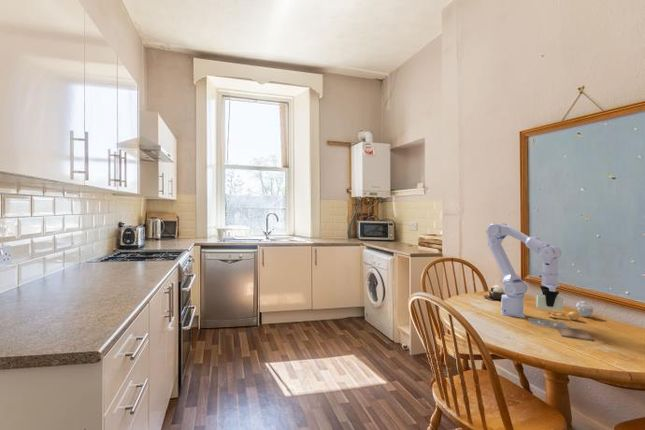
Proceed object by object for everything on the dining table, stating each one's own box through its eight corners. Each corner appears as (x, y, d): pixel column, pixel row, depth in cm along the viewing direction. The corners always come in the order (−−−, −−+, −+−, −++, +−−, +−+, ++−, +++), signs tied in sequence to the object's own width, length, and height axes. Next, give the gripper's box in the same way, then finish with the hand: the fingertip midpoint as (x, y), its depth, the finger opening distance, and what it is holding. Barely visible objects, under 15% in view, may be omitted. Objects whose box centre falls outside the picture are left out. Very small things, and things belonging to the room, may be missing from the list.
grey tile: (530, 324, 147) (530, 324, 147) (527, 318, 156) (527, 317, 156) (570, 330, 141) (570, 329, 141) (564, 323, 150) (564, 322, 150)
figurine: (583, 315, 150) (552, 306, 154) (579, 328, 150) (548, 318, 154) (576, 311, 158) (547, 302, 162) (573, 323, 158) (543, 314, 162)
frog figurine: (581, 313, 166) (581, 299, 165) (596, 318, 159) (597, 303, 159) (572, 314, 164) (572, 300, 164) (587, 319, 157) (587, 304, 157)
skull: (478, 294, 196) (490, 281, 197) (490, 306, 196) (502, 293, 197) (489, 298, 184) (502, 285, 185) (502, 312, 184) (515, 298, 185)
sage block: (537, 308, 148) (537, 296, 148) (535, 305, 153) (535, 293, 153) (562, 311, 144) (562, 299, 144) (559, 308, 149) (560, 296, 149)
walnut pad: (561, 336, 133) (561, 334, 133) (556, 328, 142) (556, 327, 142) (593, 341, 129) (593, 339, 129) (585, 333, 138) (585, 331, 138)
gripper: (564, 277, 140) (563, 310, 140) (557, 271, 153) (556, 302, 154) (544, 275, 143) (543, 307, 143) (538, 270, 156) (537, 299, 156)
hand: (548, 304), depth 149 cm, fingers closed on sage block, 5 cm apart
